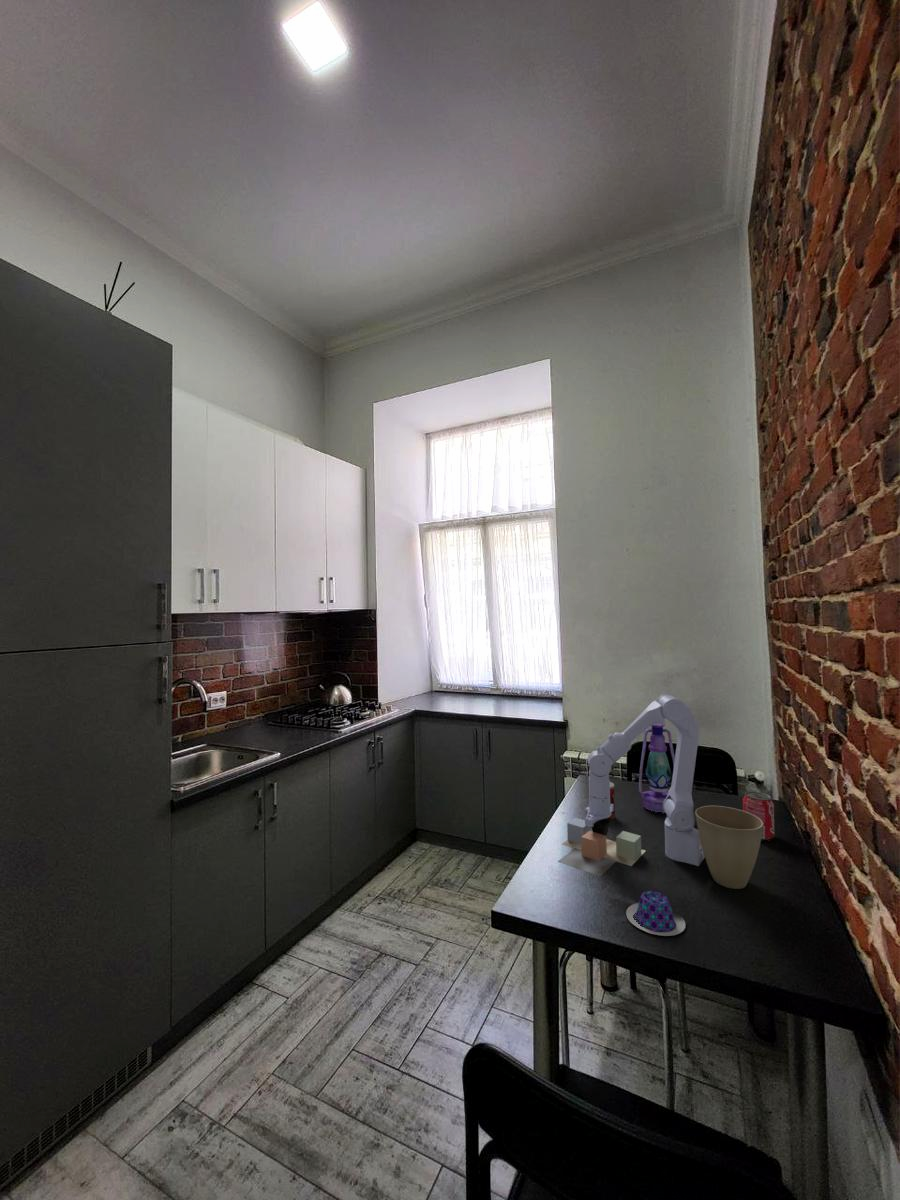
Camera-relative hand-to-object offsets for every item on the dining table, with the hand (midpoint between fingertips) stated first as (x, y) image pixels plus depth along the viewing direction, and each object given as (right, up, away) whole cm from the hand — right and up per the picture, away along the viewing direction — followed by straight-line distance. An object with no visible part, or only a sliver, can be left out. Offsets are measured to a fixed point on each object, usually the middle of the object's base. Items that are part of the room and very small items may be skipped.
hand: (600, 844), depth 140 cm
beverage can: (+51, -2, +10) cm, 52 cm away
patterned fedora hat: (+3, -2, -31) cm, 31 cm away
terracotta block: (-3, -1, -3) cm, 4 cm away
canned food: (+8, -3, +25) cm, 26 cm away
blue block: (-4, -2, +6) cm, 8 cm away
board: (-2, -2, -2) cm, 4 cm away
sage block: (+7, -1, -3) cm, 8 cm away
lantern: (+30, -3, +32) cm, 44 cm away
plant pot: (+28, -2, -15) cm, 32 cm away
